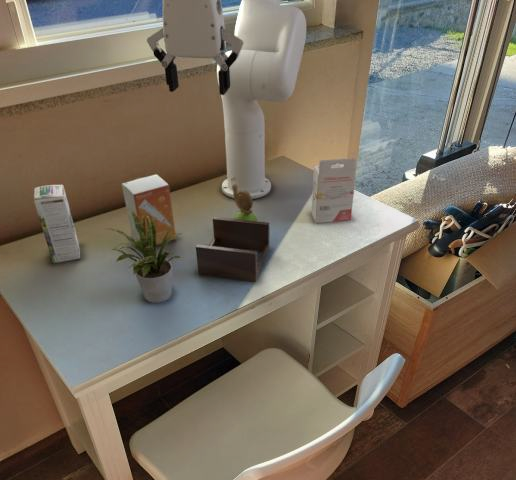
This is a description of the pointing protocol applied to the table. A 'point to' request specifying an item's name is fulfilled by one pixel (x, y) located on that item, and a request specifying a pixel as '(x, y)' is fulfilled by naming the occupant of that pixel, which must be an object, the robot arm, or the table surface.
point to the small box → (150, 205)
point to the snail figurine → (243, 203)
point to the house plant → (150, 261)
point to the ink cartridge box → (333, 190)
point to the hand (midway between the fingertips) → (198, 91)
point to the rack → (234, 260)
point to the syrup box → (57, 222)
